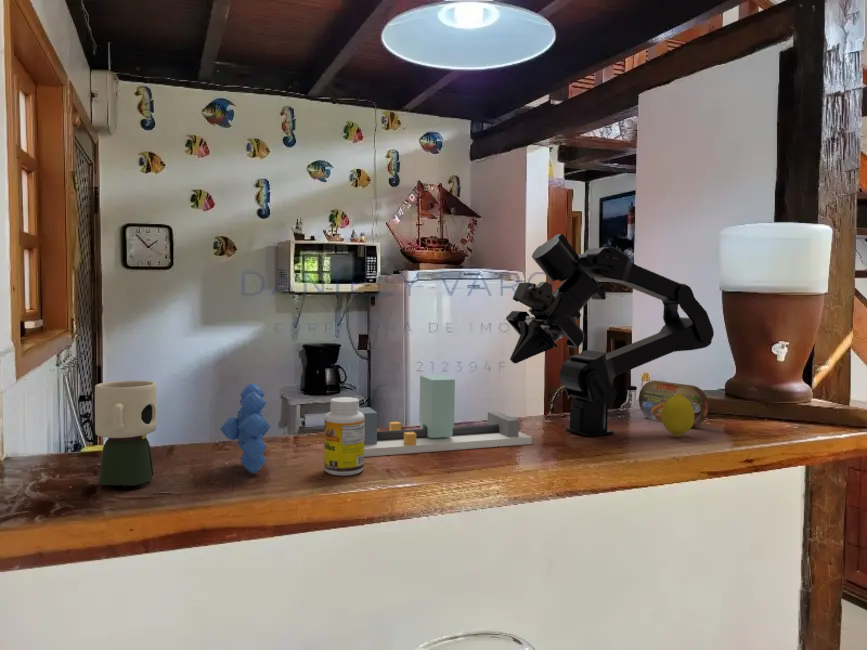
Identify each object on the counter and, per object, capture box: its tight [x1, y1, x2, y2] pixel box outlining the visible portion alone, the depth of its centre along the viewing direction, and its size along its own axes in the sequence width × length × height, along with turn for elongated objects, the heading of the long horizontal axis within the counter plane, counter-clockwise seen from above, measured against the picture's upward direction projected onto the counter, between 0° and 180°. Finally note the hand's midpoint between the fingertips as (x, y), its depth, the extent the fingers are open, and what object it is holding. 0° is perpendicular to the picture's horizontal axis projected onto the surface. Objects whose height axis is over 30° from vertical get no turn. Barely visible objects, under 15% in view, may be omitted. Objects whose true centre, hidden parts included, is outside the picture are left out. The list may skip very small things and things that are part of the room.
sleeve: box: [418, 374, 456, 438], centre depth 104 cm, size 4×6×10 cm, turn 20°
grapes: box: [220, 382, 271, 474], centre depth 86 cm, size 12×7×12 cm, turn 19°
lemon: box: [661, 394, 694, 438], centre depth 112 cm, size 6×6×8 cm
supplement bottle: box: [323, 396, 365, 477], centre depth 87 cm, size 6×6×10 cm
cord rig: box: [359, 406, 533, 458], centre depth 104 cm, size 30×10×6 cm, turn 110°
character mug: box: [94, 380, 158, 489], centre depth 79 cm, size 11×7×13 cm, turn 15°
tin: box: [638, 380, 710, 427], centre depth 125 cm, size 15×3×8 cm, turn 32°
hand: (512, 361), depth 108 cm, fingers closed
